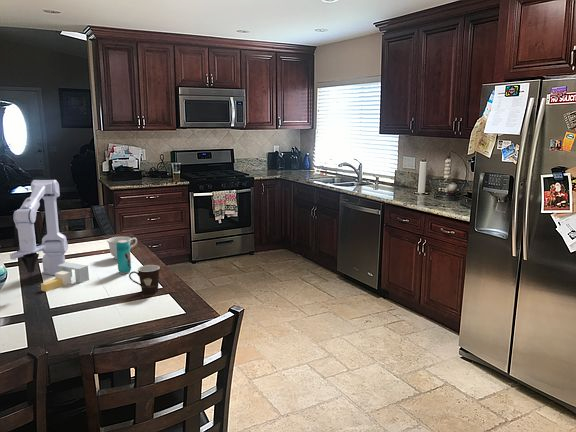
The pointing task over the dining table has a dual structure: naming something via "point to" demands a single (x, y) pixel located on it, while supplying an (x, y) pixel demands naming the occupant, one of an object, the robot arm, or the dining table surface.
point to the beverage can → (123, 256)
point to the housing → (76, 271)
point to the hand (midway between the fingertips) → (30, 271)
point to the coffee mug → (148, 278)
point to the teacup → (113, 243)
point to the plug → (57, 281)
